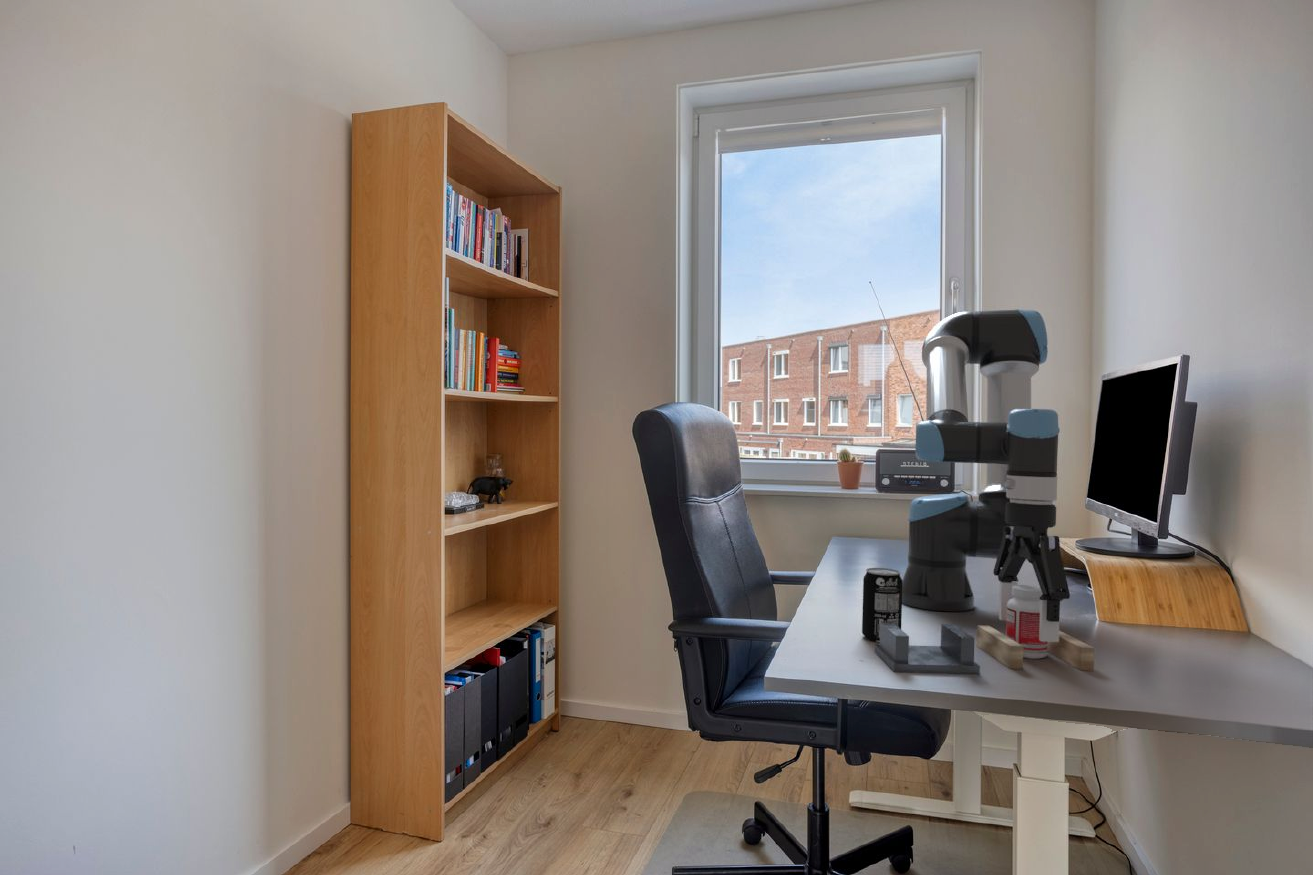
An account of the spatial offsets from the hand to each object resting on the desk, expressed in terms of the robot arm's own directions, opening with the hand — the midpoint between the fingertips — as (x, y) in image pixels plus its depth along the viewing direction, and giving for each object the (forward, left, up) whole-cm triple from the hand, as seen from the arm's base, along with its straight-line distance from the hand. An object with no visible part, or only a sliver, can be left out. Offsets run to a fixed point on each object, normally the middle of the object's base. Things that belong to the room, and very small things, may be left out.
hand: (1027, 630), depth 122 cm
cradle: (+6, -19, -4) cm, 20 cm away
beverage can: (-7, -22, -4) cm, 24 cm away
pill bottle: (0, 0, -4) cm, 4 cm away
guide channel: (+2, 0, -4) cm, 4 cm away
